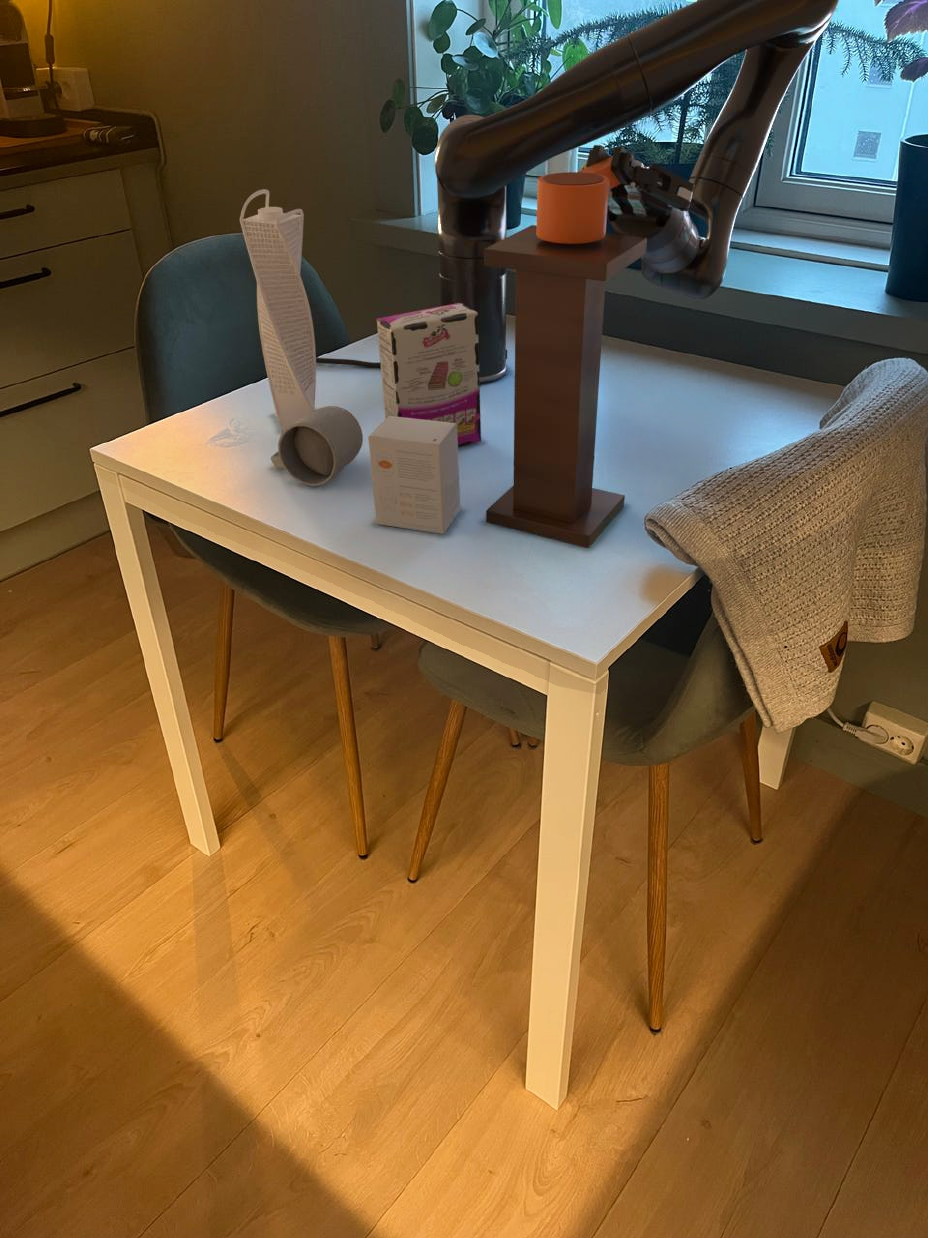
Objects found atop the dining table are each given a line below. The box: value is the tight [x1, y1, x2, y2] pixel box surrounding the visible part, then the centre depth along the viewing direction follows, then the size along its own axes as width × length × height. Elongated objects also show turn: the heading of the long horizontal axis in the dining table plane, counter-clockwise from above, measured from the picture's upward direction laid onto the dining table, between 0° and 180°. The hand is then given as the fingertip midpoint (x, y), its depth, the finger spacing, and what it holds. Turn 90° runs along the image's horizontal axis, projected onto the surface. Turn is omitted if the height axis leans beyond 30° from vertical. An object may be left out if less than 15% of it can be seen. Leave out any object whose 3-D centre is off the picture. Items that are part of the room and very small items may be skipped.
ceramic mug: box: [270, 405, 364, 487], centre depth 113 cm, size 11×8×8 cm
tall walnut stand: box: [484, 224, 647, 549], centre depth 97 cm, size 10×12×28 cm
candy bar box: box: [376, 303, 482, 448], centre depth 115 cm, size 11×5×16 cm, turn 117°
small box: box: [367, 416, 462, 535], centre depth 102 cm, size 8×6×10 cm
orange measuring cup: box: [536, 153, 634, 244], centre depth 91 cm, size 16×6×5 cm, turn 151°
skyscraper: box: [239, 188, 317, 433], centre depth 119 cm, size 8×7×28 cm
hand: (605, 156), depth 91 cm, fingers closed on orange measuring cup
